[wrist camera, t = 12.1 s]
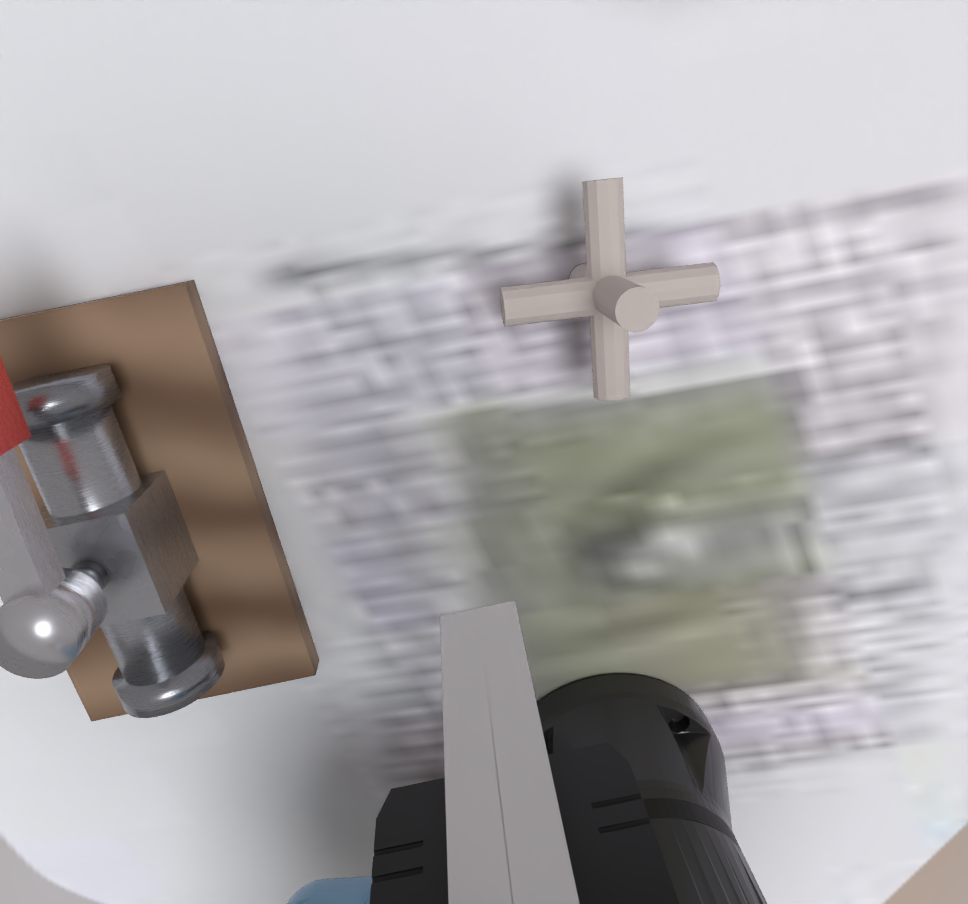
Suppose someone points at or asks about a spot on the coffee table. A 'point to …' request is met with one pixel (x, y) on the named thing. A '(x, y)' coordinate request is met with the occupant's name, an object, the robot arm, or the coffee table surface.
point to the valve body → (119, 538)
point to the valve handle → (36, 570)
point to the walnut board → (179, 476)
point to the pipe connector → (609, 291)
